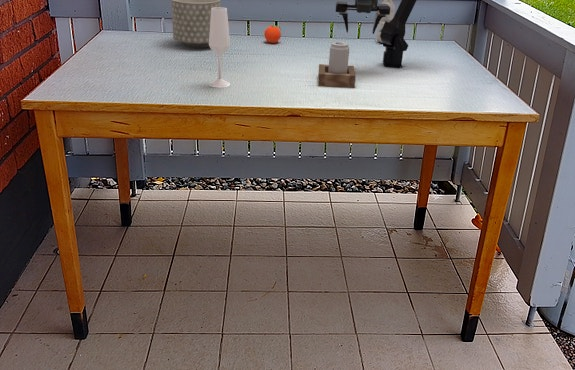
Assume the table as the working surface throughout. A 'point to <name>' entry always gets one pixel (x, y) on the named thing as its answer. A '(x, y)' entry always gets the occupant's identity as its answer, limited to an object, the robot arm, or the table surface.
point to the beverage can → (338, 57)
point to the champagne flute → (219, 40)
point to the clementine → (272, 34)
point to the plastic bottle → (386, 18)
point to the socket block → (336, 77)
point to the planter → (192, 21)
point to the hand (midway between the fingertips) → (360, 33)
